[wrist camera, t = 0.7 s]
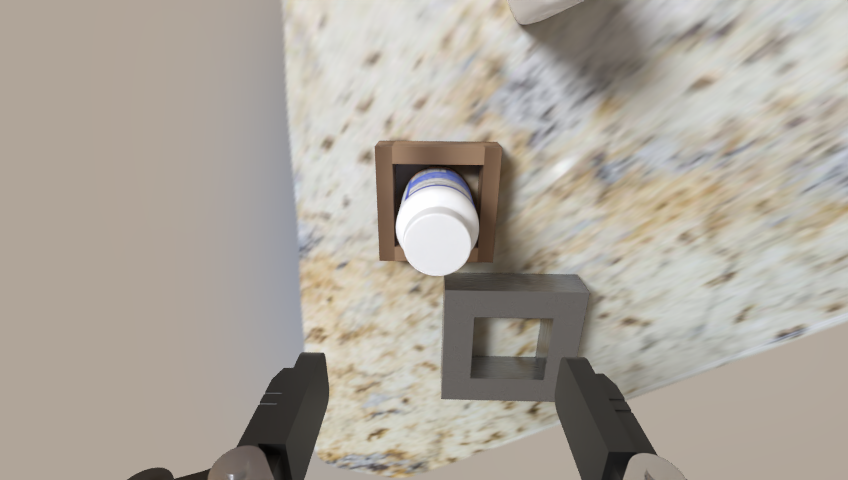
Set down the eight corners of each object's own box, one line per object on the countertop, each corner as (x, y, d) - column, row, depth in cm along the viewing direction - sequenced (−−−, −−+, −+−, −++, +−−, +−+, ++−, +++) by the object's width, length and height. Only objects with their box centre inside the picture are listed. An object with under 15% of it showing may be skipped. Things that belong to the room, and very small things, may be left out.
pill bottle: (452, 239, 33) (459, 301, 24) (392, 213, 32) (377, 268, 23) (482, 181, 31) (502, 226, 22) (419, 152, 30) (413, 186, 21)
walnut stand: (496, 142, 29) (502, 147, 27) (488, 249, 33) (492, 262, 31) (379, 140, 30) (374, 146, 27) (383, 247, 33) (379, 260, 31)
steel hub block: (577, 274, 34) (589, 292, 31) (558, 378, 38) (567, 401, 36) (443, 272, 34) (444, 290, 31) (440, 375, 39) (441, 399, 36)
